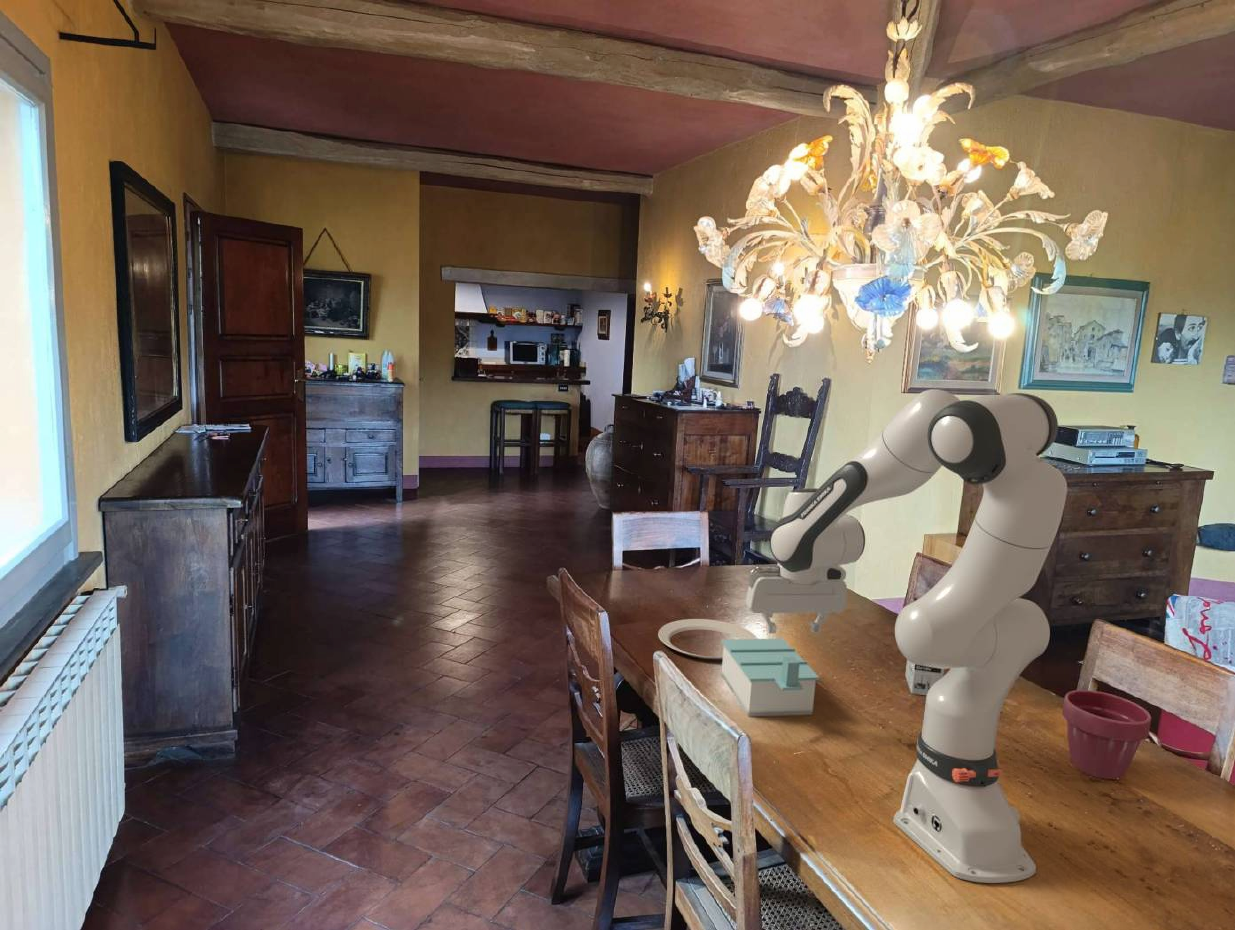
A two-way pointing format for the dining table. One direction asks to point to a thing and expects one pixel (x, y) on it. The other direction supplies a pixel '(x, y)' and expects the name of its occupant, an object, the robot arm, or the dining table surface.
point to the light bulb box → (922, 677)
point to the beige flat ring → (705, 624)
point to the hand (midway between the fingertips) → (793, 632)
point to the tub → (766, 693)
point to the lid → (770, 662)
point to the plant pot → (1103, 732)
